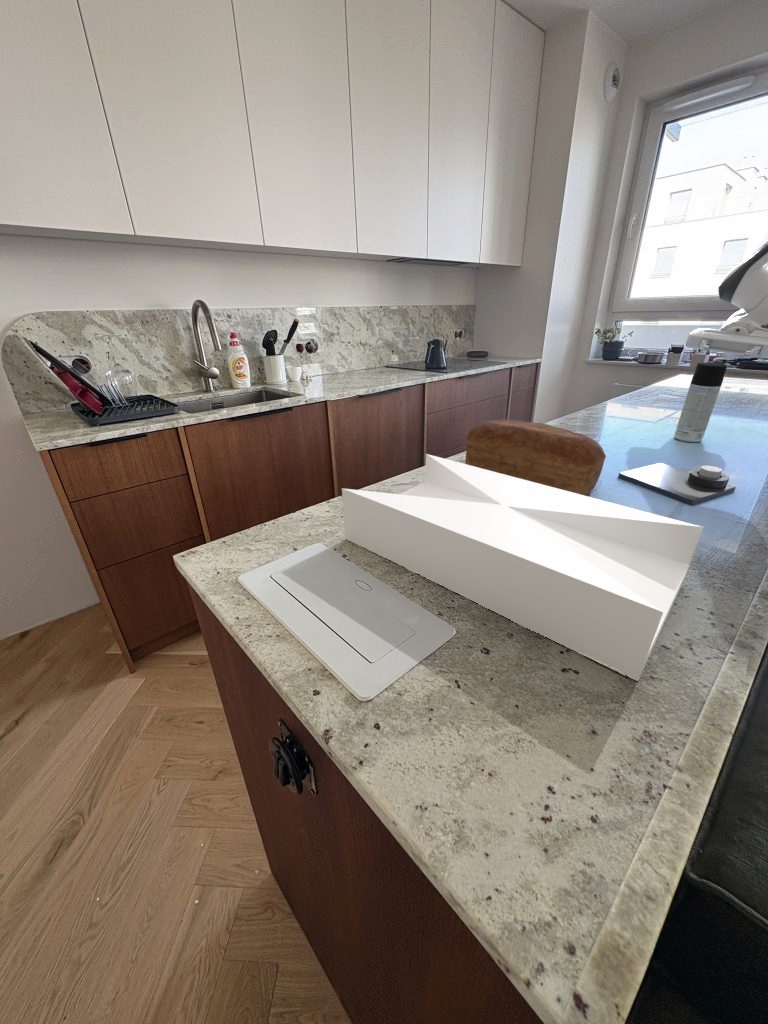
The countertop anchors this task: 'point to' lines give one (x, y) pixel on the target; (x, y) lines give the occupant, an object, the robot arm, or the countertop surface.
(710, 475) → the power button
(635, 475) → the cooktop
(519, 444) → the bread
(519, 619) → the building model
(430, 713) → the countertop surface
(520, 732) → the countertop surface
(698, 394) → the spray can
